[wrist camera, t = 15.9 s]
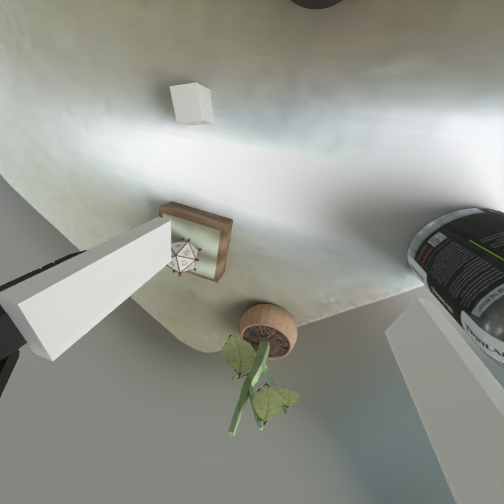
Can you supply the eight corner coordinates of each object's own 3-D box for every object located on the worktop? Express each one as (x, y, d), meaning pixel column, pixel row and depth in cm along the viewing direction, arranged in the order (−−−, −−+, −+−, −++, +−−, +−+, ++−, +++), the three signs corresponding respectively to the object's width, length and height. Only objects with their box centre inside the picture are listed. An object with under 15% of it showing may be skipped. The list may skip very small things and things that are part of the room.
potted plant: (303, 342, 60) (301, 488, 34) (249, 337, 65) (212, 461, 40) (297, 283, 50) (287, 426, 24) (233, 284, 55) (171, 401, 30)
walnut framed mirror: (172, 201, 47) (158, 207, 43) (233, 219, 46) (225, 227, 41) (172, 254, 56) (161, 264, 51) (224, 272, 54) (217, 283, 50)
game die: (192, 243, 50) (151, 256, 45) (195, 223, 43) (148, 235, 38) (207, 272, 48) (166, 289, 42) (214, 255, 41) (166, 273, 36)
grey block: (185, 93, 36) (169, 86, 32) (210, 90, 35) (196, 82, 31) (190, 125, 38) (176, 122, 34) (214, 123, 37) (202, 120, 33)
